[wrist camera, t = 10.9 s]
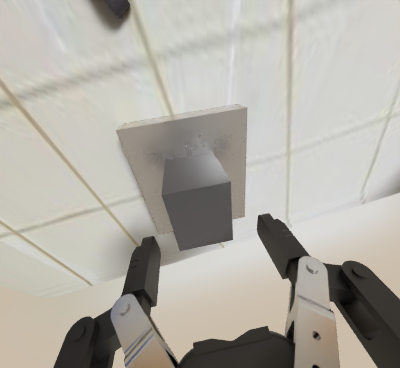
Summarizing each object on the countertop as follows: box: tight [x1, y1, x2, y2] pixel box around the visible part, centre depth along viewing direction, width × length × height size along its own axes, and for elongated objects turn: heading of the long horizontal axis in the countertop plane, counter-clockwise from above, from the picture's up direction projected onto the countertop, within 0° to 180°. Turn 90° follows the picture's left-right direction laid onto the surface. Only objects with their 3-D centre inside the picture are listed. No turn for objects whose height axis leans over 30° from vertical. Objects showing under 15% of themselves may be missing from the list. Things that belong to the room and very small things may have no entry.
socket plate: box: [116, 104, 247, 234], centre depth 19 cm, size 12×14×3 cm
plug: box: [162, 152, 233, 251], centre depth 17 cm, size 5×8×8 cm, turn 8°
